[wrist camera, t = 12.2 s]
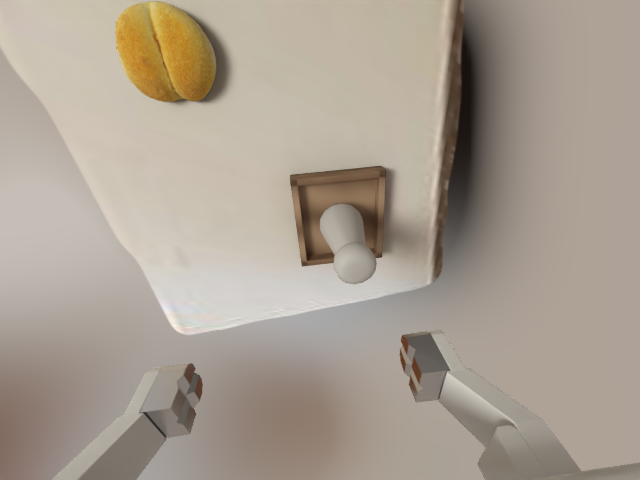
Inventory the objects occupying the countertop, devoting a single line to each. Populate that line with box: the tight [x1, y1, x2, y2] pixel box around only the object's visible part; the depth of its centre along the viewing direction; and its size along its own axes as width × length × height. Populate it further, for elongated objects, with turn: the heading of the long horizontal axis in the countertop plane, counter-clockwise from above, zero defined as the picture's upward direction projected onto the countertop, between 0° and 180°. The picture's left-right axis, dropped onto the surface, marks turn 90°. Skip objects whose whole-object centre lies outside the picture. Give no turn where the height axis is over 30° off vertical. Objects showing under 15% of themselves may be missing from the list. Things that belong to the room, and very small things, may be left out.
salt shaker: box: [320, 203, 376, 284], centre depth 31 cm, size 6×6×13 cm
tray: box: [290, 166, 386, 266], centre depth 37 cm, size 13×12×2 cm
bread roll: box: [115, 1, 216, 102], centre depth 26 cm, size 8×9×4 cm
